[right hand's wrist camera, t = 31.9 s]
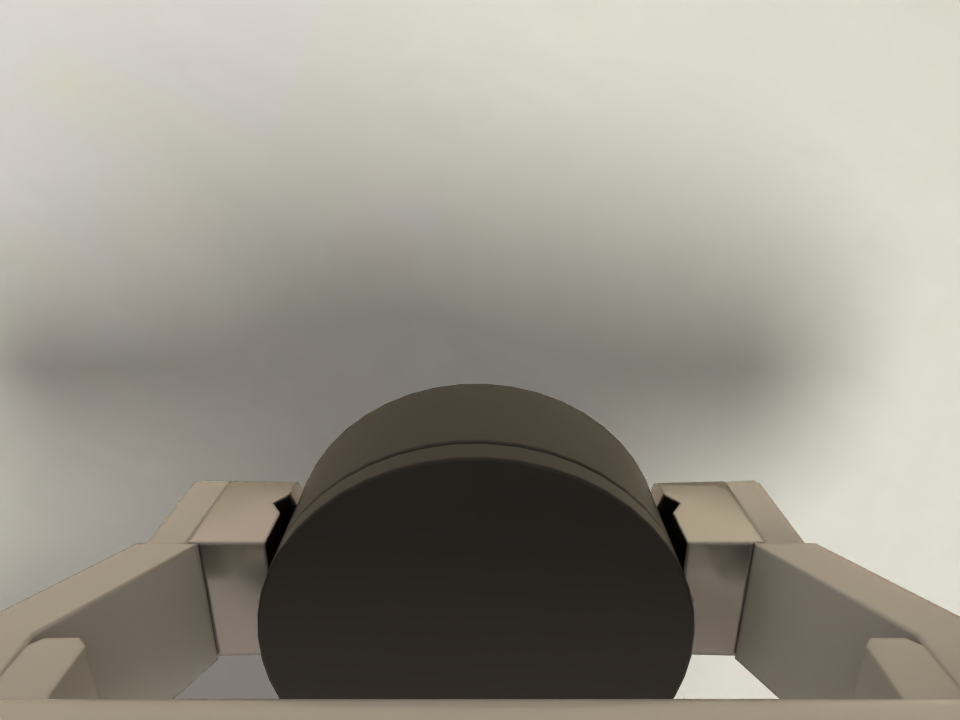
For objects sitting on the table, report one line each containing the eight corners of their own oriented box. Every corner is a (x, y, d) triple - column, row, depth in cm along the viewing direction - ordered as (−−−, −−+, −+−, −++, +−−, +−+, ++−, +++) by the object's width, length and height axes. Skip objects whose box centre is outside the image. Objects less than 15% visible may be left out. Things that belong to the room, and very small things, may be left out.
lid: (223, 533, 10) (164, 634, 8) (491, 303, 9) (493, 362, 7) (466, 724, 12) (463, 846, 10) (727, 555, 10) (781, 659, 8)
